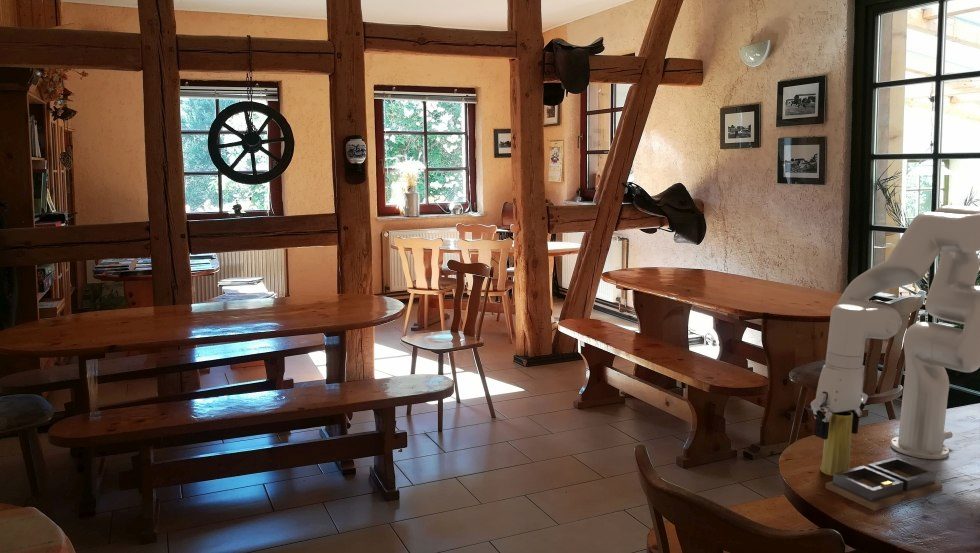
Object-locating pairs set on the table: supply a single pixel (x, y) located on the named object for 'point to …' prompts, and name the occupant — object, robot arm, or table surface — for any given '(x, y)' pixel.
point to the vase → (837, 444)
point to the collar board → (887, 501)
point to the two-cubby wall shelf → (884, 479)
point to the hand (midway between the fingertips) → (835, 434)
